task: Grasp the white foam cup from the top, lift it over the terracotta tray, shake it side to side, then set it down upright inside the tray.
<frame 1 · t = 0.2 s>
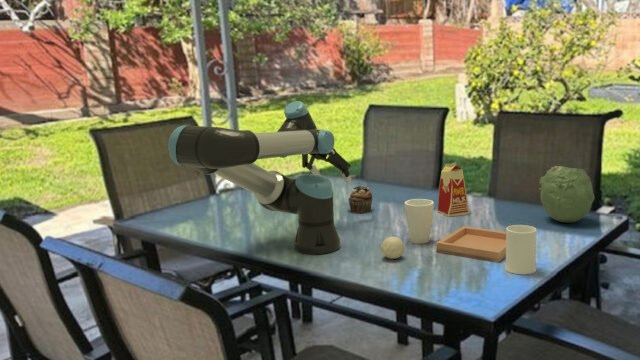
hand: (334, 180, 233), 15 cm above the table, tool tilted 35°, fingers open, 13 cm apart
tray: (479, 247, 198), on the table
milk carton: (452, 213, 239), on the table
beige ball: (392, 258, 193), on the table
cupcake: (360, 211, 249), on the table
foam cup: (419, 240, 208), on the table
mug: (523, 268, 179), on the table
cabbage: (565, 222, 221), on the table
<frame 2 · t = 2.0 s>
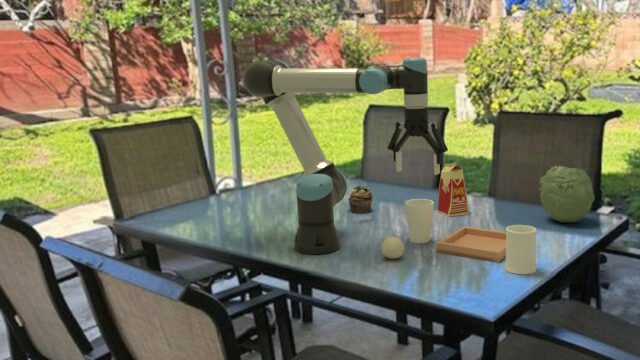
hand: (417, 172, 204), 23 cm above the table, tool pointing down, fingers open, 13 cm apart
nothing on the table moved.
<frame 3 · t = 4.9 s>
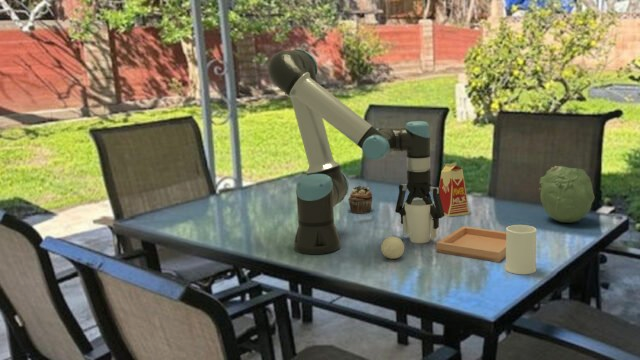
hand: (419, 235, 208), 2 cm above the table, tool pointing down, fingers closed on foam cup, 9 cm apart
foam cup: (419, 240, 208), on the table, touching gripper
everything else where it was.
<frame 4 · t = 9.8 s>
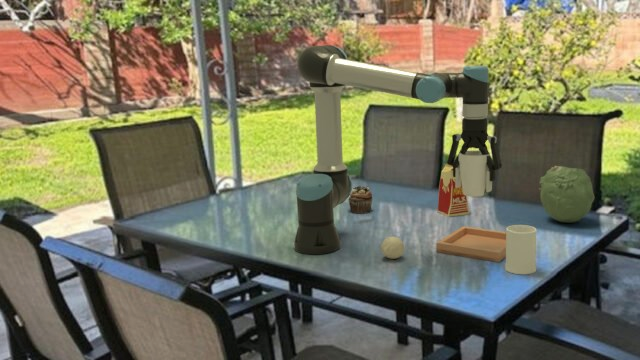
hand: (473, 189, 195), 19 cm above the table, tool pointing down, fingers closed on foam cup, 9 cm apart
foam cup: (473, 194, 196), point 17 cm above the table, touching gripper
everything else where it was.
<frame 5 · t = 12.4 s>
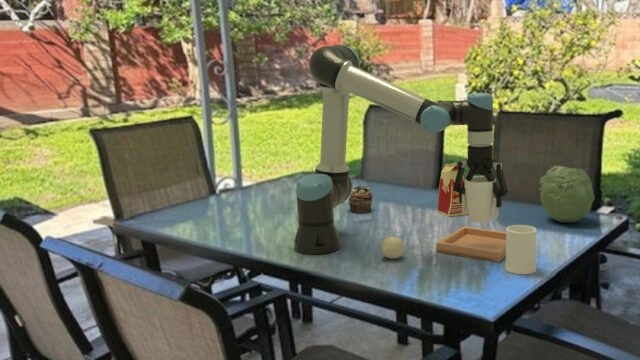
hand: (480, 215, 196), 11 cm above the table, tool pointing down, fingers closed on foam cup, 9 cm apart
foam cup: (480, 220, 196), point 9 cm above the table, touching gripper
everything else where it was.
when the fingers open (4 cm above the table, at t = 14.6 s): foam cup drops 1 cm, resting on tray.
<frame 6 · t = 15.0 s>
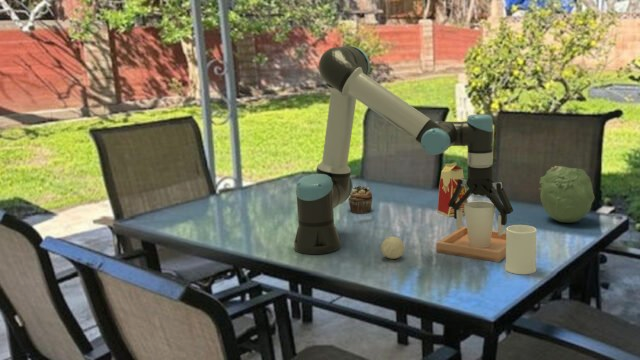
hand: (479, 231, 197), 5 cm above the table, tool pointing down, fingers open, 13 cm apart
foam cup: (479, 245, 198), point 1 cm above the table, touching tray
everything else where it was.
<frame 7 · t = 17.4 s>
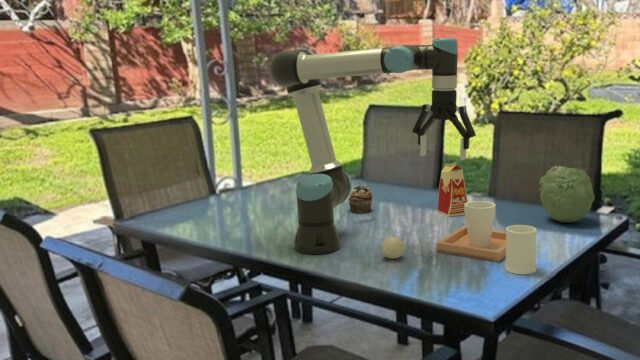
hand: (442, 157, 197), 28 cm above the table, tool pointing down, fingers open, 13 cm apart
nothing on the table moved.
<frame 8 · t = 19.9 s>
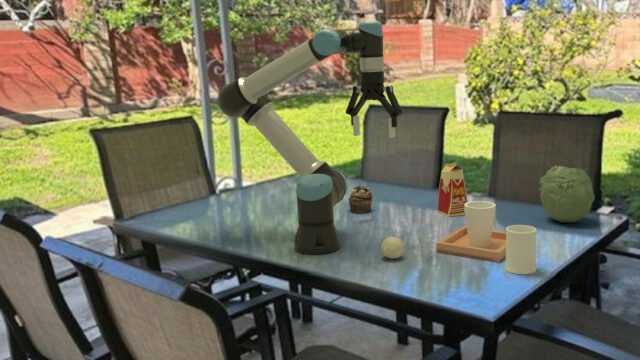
hand: (374, 136, 206), 35 cm above the table, tool pointing down, fingers open, 13 cm apart
nothing on the table moved.
at the end: foam cup inside the target area on the tray (0.0 cm from its centre), point 0.8 cm above the tray's base; foam cup tilted 0°; the gripper is holding nothing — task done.
